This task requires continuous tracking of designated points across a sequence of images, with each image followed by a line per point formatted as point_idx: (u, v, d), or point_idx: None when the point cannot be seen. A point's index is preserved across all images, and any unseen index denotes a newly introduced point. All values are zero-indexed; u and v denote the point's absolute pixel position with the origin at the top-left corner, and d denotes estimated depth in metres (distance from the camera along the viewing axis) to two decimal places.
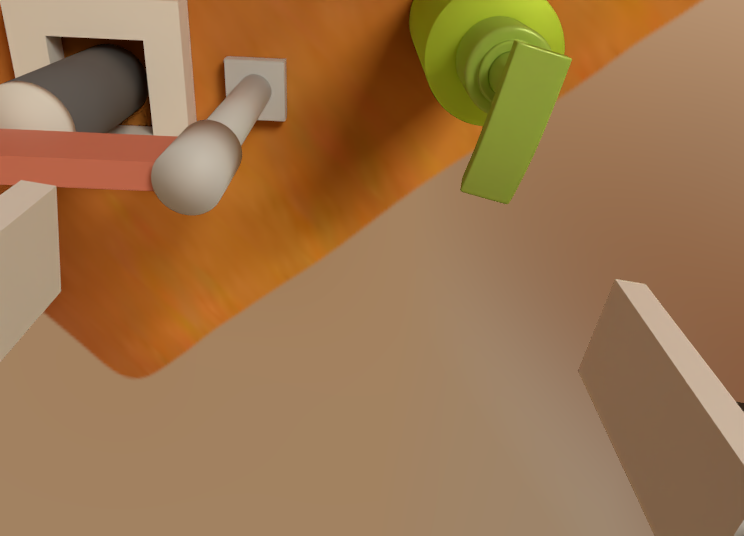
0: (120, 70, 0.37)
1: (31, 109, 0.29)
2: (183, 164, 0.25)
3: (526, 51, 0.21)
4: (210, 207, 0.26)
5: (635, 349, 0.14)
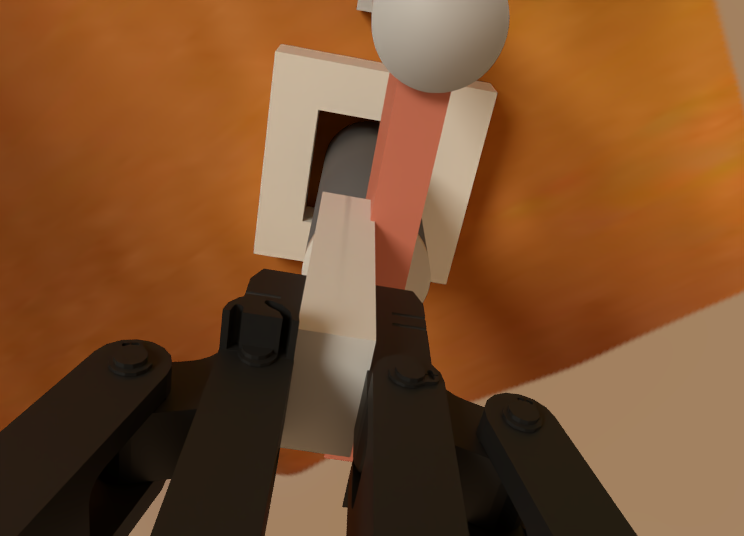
0: (346, 146, 0.29)
1: None
2: (405, 21, 0.13)
3: None
4: None
5: None
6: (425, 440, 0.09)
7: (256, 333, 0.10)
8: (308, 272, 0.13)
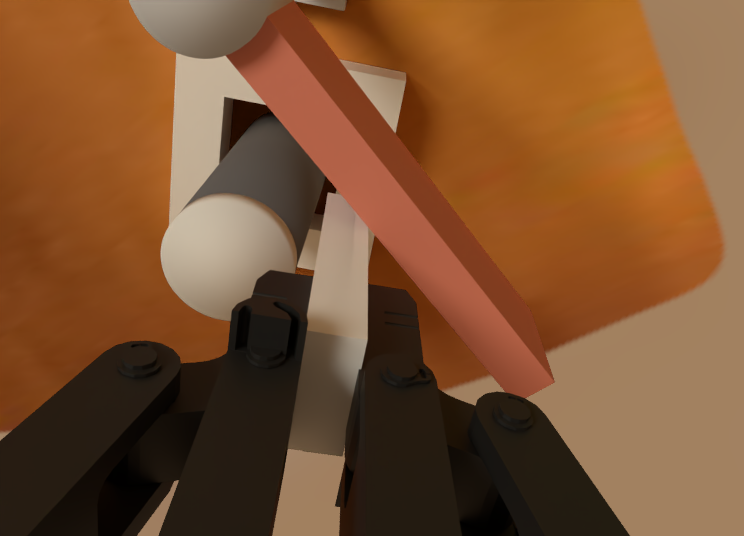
0: (248, 133, 0.28)
1: (193, 238, 0.21)
2: (174, 11, 0.13)
3: None
4: None
5: None
6: (417, 439, 0.09)
7: (265, 334, 0.10)
8: (315, 273, 0.13)
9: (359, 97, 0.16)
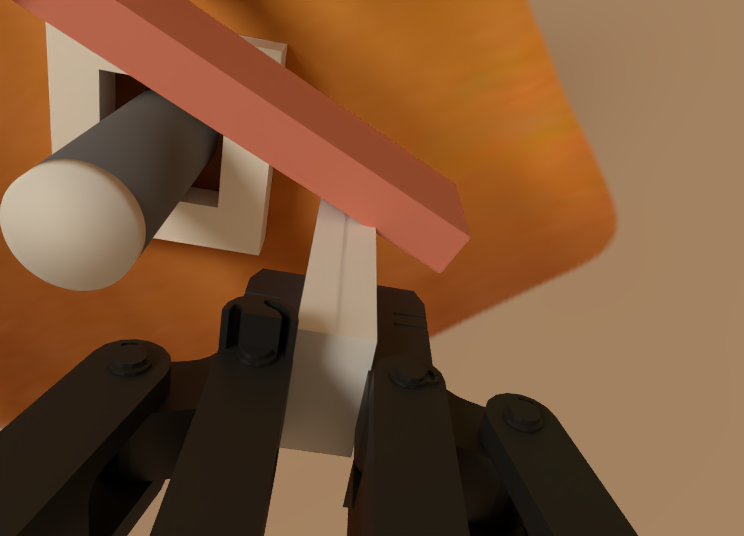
0: (122, 106, 0.28)
1: (32, 205, 0.21)
2: None
3: None
4: None
5: None
6: (426, 440, 0.09)
7: (256, 333, 0.10)
8: (307, 272, 0.13)
9: (181, 7, 0.16)
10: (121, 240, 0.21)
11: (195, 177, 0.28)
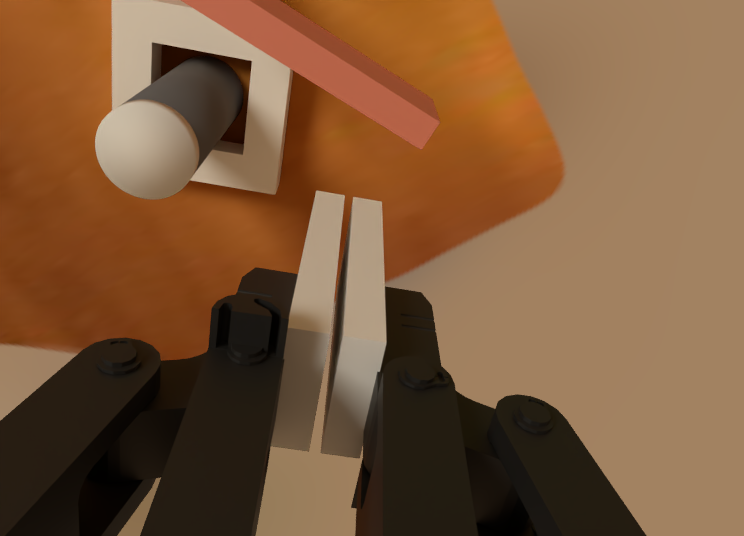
0: (171, 70, 0.36)
1: (119, 132, 0.28)
2: None
3: None
4: None
5: (347, 251, 0.15)
6: (435, 442, 0.09)
7: (246, 332, 0.10)
8: (299, 271, 0.13)
9: None
10: (182, 159, 0.29)
11: (227, 126, 0.36)
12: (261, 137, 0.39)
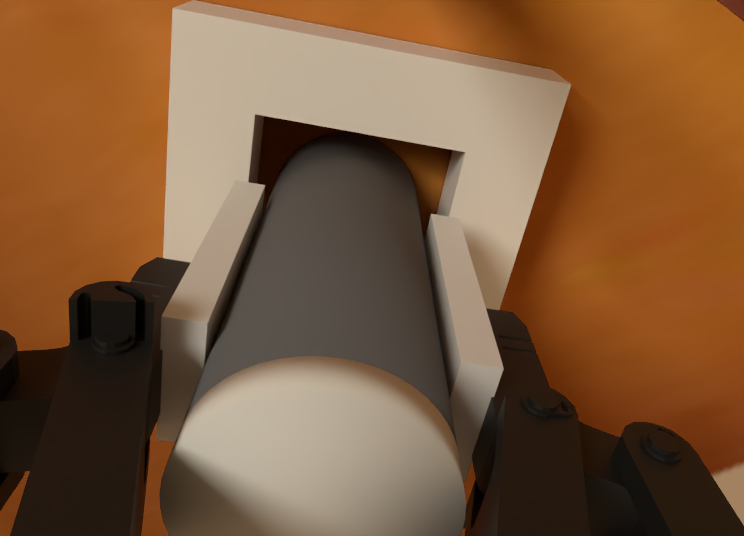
0: (299, 179, 0.16)
1: (239, 465, 0.09)
2: None
3: None
4: None
5: (432, 270, 0.15)
6: (554, 470, 0.09)
7: (109, 320, 0.10)
8: (193, 260, 0.12)
9: None
10: (426, 528, 0.10)
11: None
12: None
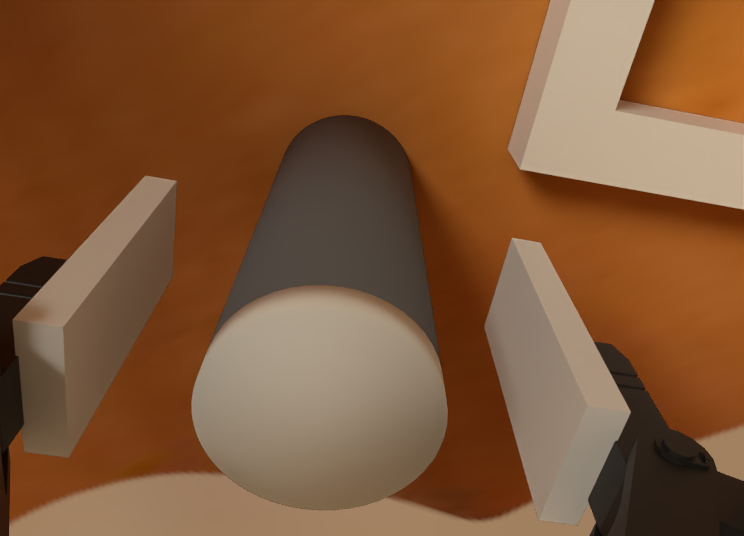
0: (305, 154, 0.18)
1: (258, 375, 0.11)
2: None
3: None
4: None
5: (520, 298, 0.15)
6: (687, 521, 0.09)
7: None
8: (69, 259, 0.12)
9: None
10: (414, 432, 0.11)
11: None
12: None
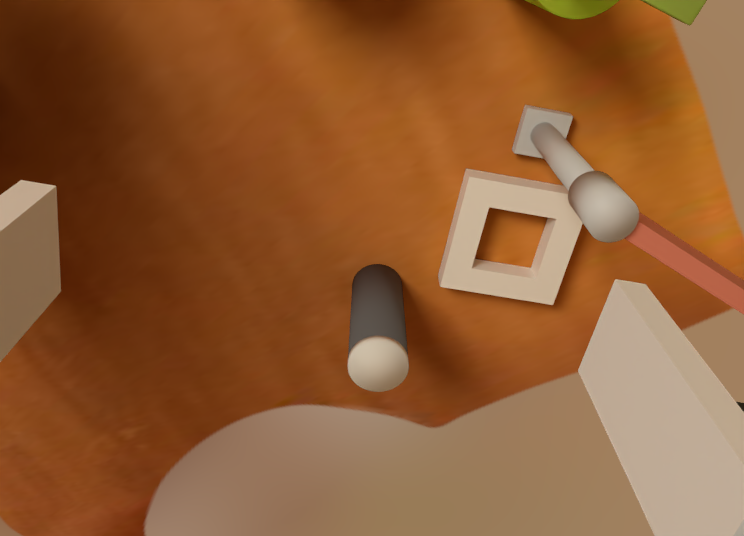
0: (365, 285, 0.54)
1: (364, 356, 0.46)
2: (605, 230, 0.36)
3: None
4: (614, 196, 0.35)
5: (635, 349, 0.14)
6: None
7: None
8: None
9: (654, 224, 0.39)
10: (400, 370, 0.47)
11: None
12: (551, 267, 0.54)
